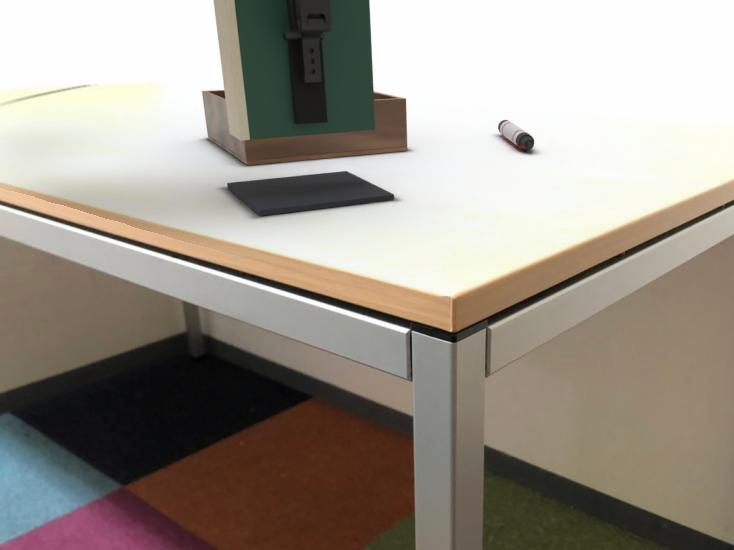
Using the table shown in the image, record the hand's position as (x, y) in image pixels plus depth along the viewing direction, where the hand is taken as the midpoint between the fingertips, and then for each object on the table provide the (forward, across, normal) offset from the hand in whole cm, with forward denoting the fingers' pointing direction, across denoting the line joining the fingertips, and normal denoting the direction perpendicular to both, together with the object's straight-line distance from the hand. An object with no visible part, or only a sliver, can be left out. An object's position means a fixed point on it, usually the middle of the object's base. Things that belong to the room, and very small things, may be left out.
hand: (302, 118), depth 66 cm
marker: (+7, +14, -32) cm, 35 cm away
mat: (+7, 0, 0) cm, 7 cm away
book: (+1, 0, 0) cm, 1 cm away
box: (+7, +27, -8) cm, 29 cm away
